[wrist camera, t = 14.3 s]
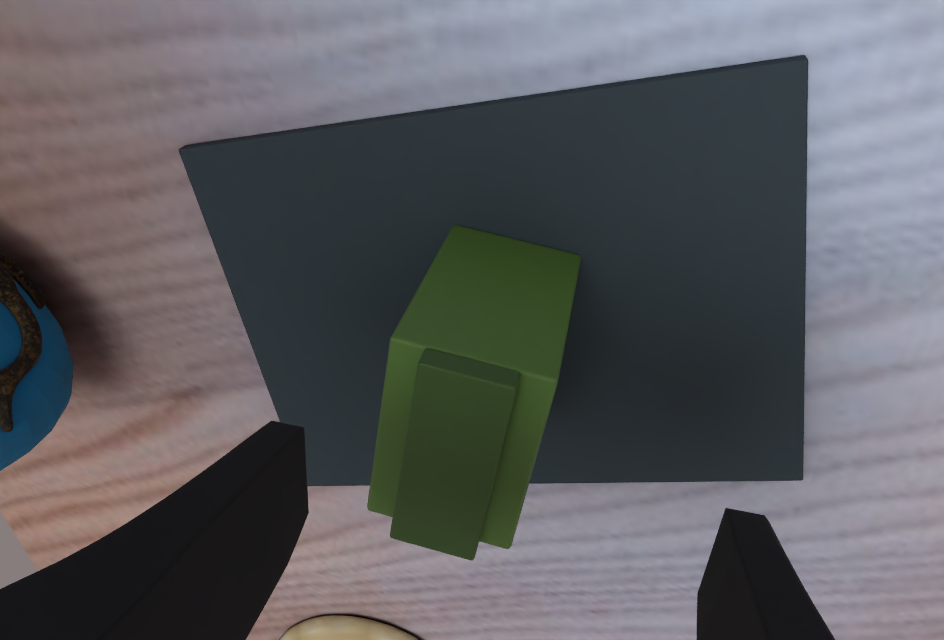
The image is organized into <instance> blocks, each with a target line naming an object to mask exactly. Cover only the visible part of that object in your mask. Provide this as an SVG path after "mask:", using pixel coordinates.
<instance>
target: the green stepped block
mask: <svg viewBox="0 0 944 640" xmlns="http://www.w3.org/2000/svg"><path fill="white" fill-rule="evenodd" d="M580 261H581V256H579V255H577V254H573V253H569V252H565V251H561V250H556V249H552V248H548V247H544V246H540V245H536V244H532V243H528V242H524V241H520V240H516V239H512V238H507V237H503V236H499V235H495V234H491V233H487V232H483V231H479V230H475V229H471V228H467V227H463V226H459V225H453V227H452V228H451V230H450V232H449V234H448V236H447V237H446V239H445V241H444V243H443V245H442V246H441V248H440V250H439V252H438V254H437V255H436V257H435V259H434V261H433V263H432V264H431V266H430V268H429V270H428V271H427V273H426V275H425V277H424V279H423V280H422V282H421V284H420V286H419V288H418V289H417V291H416V293H415V295H414V297H413V298H412V300H411V302H410V304H409V306H408V307H407V309H406V311H405V313H404V315H403V316H402V318H401V320H400V322H399V324H398V325H397V327H396V329H395V331H394V333H393V334H392V336H391V338H390V344H389V351H388V359H387V366H386V373H385V381H384V388H383V395H382V403H381V410H380V417H379V425H378V432H377V439H376V446H375V454H374V461H373V468H372V476H371V483H370V490H369V498H368V505H367V507H368V510H370V511H373V512H377V513H380V514H384V515H387V516H391V517H393V519H392V525H391V531H390V537H391V538H393V539H397V540H401V541H404V542H408V543H411V544H415V545H418V546H422V547H425V548H429V549H433V550H436V551H440V552H443V553H447V554H450V555H454V556H457V557H461V558H465V559H468V560H473V559H474V558H475V554H476V551H477V547H478V543H479V541H480V542H484V543H488V544H491V545H495V546H498V547H502V548H506V549H509V548H510V547H511V545H512V541H513V538H514V534H515V531H516V527H517V524H518V520H519V517H520V513H521V510H522V506H523V503H524V499H525V496H526V492H527V489H528V485H529V482H530V478H531V475H532V471H533V468H534V464H535V461H536V457H537V453H538V450H539V446H540V443H541V439H542V436H543V432H544V429H545V425H546V422H547V418H548V415H549V411H550V408H551V404H552V401H553V397H554V394H555V390H556V387H557V383H558V379H559V373H560V368H561V363H562V357H563V352H564V347H565V341H566V336H567V331H568V325H569V320H570V315H571V309H572V304H573V299H574V293H575V288H576V283H577V277H578V272H579V267H580Z"/></svg>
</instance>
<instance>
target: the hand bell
mask: <svg viewBox="0 0 944 640" xmlns="http://www.w3.org/2000/svg"><path fill="white" fill-rule="evenodd" d="M279 640H418V639H417V638H415V637H414V636H411V635H410V634H408V633H406V632H403V631H401V630H399V629H397V628H395V627H392V626H390V625H387V624H382V623H380V622H377V621H373V620H369V619H365V618H359V617H353V616H336V615H331V616H321V617H316V618H312V619H309V620H305V621H303V622H301V623H299V624H297V625H295V626H293V627H292V628H291V629H289V630H288V631H287V632H286V633H285V634H284V635H283V636H282V637H281V638H280V639H279Z"/></svg>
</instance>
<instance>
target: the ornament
mask: <svg viewBox="0 0 944 640" xmlns="http://www.w3.org/2000/svg"><path fill="white" fill-rule="evenodd" d="M73 366H74V362H73V359H72V356H71V353H70V350H69V348H68V345H67V342H66V339H65V336H64V333H63V330H62V328H61V327H60V325H59V323H58V322H57V320H56V319H55V317H54V316H53V315H52V313H51V312H50V311H49V309H48V308H47V307H46V305H45V298H44V294H43V292H42V291H41V289H40V287H39V286H38V284H37V283H36V282H35V281H34V280H33V279H32V278H31V277H30V276H29V275H28V274H27V273H26V272H25V271H24V270H23V269H22V268H21V267H20V266H19V265H18V264H16V263H15V262H13V261H12V260H10V259H8V258H7V257H5V256H4V255H2V254H0V471H1V470H2V469H4V468H5V467H7V466H8V465H10V464H11V463H13V462H15V461H16V460H18V459H19V458H21V457H22V456H24V455H25V454H27V453H28V452H30V451H31V450H32V449H33V448H34V447H35V446H36V445H37V444H38V443H39V442H40V441H41V440H42V439H43V438H44V437H45V436H46V435H47V434H49V433H50V432H51V431H52V429H53V428H54V426H55V424H56V423H57V421H58V419H59V418H60V416H61V414H62V413H63V411H64V409H65V408H66V406H67V404H68V402H69V399H70V396H71V392H72V379H73Z"/></svg>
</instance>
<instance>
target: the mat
mask: <svg viewBox="0 0 944 640" xmlns="http://www.w3.org/2000/svg"><path fill="white" fill-rule="evenodd" d="M807 100H808V59H807V58H806V56H804V55H802V56H795V57H789V58H782V59H775V60H768V61H761V62H754V63H747V64H740V65H734V66H727V67H720V68H713V69H706V70H699V71H692V72H686V73H679V74H672V75H665V76H658V77H651V78H644V79H637V80H631V81H624V82H617V83H610V84H603V85H596V86H589V87H583V88H576V89H569V90H562V91H555V92H548V93H541V94H534V95H528V96H521V97H514V98H507V99H500V100H493V101H486V102H479V103H473V104H466V105H459V106H452V107H445V108H438V109H431V110H425V111H418V112H411V113H404V114H397V115H390V116H383V117H376V118H370V119H363V120H356V121H349V122H342V123H335V124H328V125H322V126H315V127H308V128H301V129H294V130H287V131H280V132H273V133H267V134H260V135H253V136H246V137H239V138H232V139H225V140H218V141H212V142H205V143H198V144H191V145H185V146H184V147H182V148H180V149H179V153H180V155H181V158H182V161H183V163H184V166H185V169H186V171H187V174H188V177H189V179H190V182H191V185H192V187H193V190H194V193H195V195H196V198H197V201H198V203H199V206H200V209H201V211H202V214H203V217H204V219H205V222H206V225H207V227H208V230H209V233H210V235H211V238H212V241H213V244H214V246H215V249H216V252H217V254H218V257H219V260H220V262H221V265H222V268H223V270H224V273H225V276H226V278H227V281H228V284H229V286H230V289H231V292H232V294H233V297H234V300H235V302H236V305H237V308H238V310H239V313H240V316H241V318H242V321H243V324H244V326H245V329H246V332H247V334H248V337H249V340H250V342H251V345H252V348H253V350H254V353H255V356H256V358H257V361H258V364H259V366H260V369H261V372H262V374H263V377H264V380H265V382H266V385H267V388H268V390H269V393H270V396H271V398H272V401H273V404H274V406H275V409H276V412H277V414H278V417H279V420H280V422H281V423H285V424H291V425H296V426H301V427H304V431H305V451H306V471H307V486H355V485H370V483H371V476H372V468H373V461H374V454H375V446H376V439H377V432H378V425H379V417H380V410H381V403H382V395H383V388H384V381H385V373H386V366H387V359H388V351H389V344H390V338H391V336H392V334H393V333H394V331H395V329H396V327H397V325H398V324H399V322H400V320H401V318H402V316H403V315H404V313H405V311H406V309H407V307H408V306H409V304H410V302H411V300H412V298H413V297H414V295H415V293H416V291H417V289H418V288H419V286H420V284H421V282H422V280H423V279H424V277H425V275H426V273H427V271H428V270H429V268H430V266H431V264H432V263H433V261H434V259H435V257H436V255H437V254H438V252H439V250H440V248H441V246H442V245H443V243H444V241H445V239H446V237H447V236H448V234H449V232H450V230H451V228H452V227H453V225H459V226H463V227H467V228H471V229H475V230H479V231H483V232H487V233H491V234H495V235H499V236H503V237H507V238H512V239H516V240H520V241H524V242H528V243H532V244H536V245H540V246H544V247H548V248H552V249H556V250H561V251H565V252H569V253H573V254H577V255H579V256H581V261H580V267H579V272H578V277H577V283H576V288H575V293H574V299H573V304H572V309H571V315H570V320H569V325H568V331H567V336H566V341H565V347H564V352H563V357H562V363H561V368H560V373H559V379H558V383H557V387H556V390H555V394H554V397H553V401H552V404H551V408H550V411H549V415H548V418H547V422H546V425H545V429H544V432H543V436H542V439H541V443H540V446H539V450H538V453H537V457H536V461H535V464H534V468H533V471H532V475H531V478H530V482H529V484H530V483H618V482H706V481H793V480H803V445H804V359H805V272H806V186H807Z"/></svg>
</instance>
